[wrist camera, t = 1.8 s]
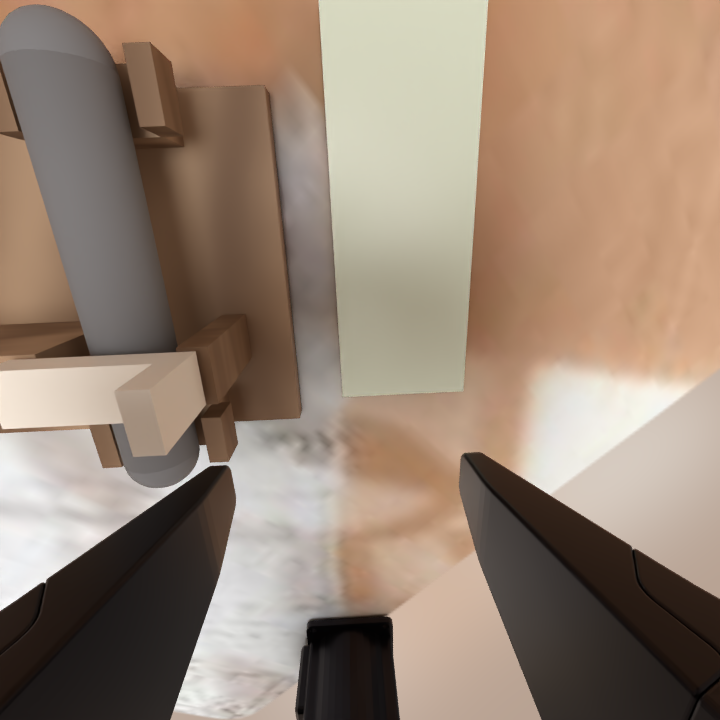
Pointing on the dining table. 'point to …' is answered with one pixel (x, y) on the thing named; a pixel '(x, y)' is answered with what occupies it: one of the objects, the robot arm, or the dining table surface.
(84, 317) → the grey rod
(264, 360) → the cradle
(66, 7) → the dining table surface
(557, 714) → the robot arm
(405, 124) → the mat
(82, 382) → the beige wooden bar
